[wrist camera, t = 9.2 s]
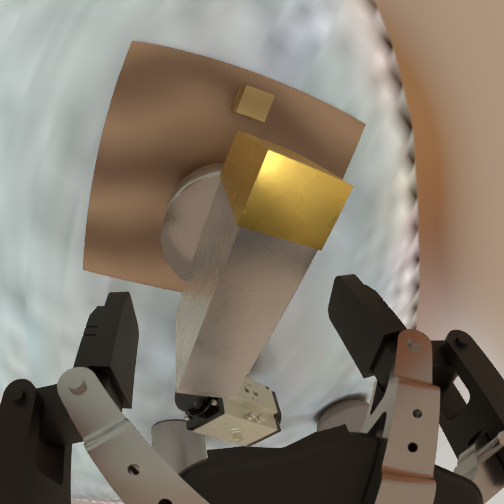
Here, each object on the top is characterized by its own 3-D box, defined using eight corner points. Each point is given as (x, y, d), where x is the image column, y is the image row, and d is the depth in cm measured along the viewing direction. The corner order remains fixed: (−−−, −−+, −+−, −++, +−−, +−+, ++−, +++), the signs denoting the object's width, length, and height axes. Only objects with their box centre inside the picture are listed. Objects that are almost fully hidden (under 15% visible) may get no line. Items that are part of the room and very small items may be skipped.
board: (276, 300, 31) (293, 343, 26) (87, 261, 25) (66, 303, 19) (357, 122, 23) (400, 132, 18) (136, 44, 17) (115, 25, 11)
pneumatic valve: (241, 379, 37) (259, 456, 27) (173, 343, 32) (174, 435, 21) (272, 358, 36) (297, 437, 26) (204, 317, 31) (215, 414, 20)
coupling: (306, 154, 17) (394, 206, 9) (242, 297, 21) (270, 401, 14) (196, 114, 15) (198, 126, 7) (148, 276, 19) (132, 385, 11)
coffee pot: (375, 387, 47) (407, 448, 35) (353, 417, 53) (378, 471, 40) (268, 408, 43) (291, 487, 30) (258, 435, 48) (275, 501, 35)
